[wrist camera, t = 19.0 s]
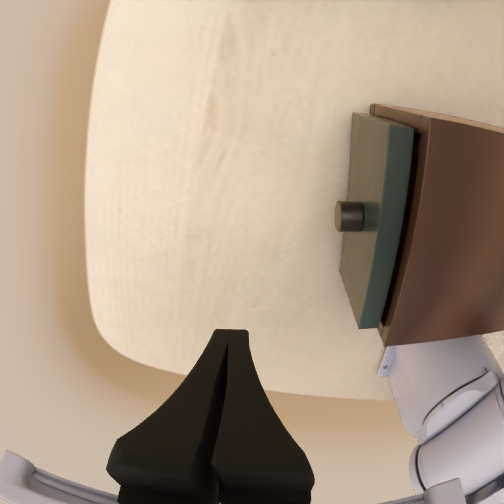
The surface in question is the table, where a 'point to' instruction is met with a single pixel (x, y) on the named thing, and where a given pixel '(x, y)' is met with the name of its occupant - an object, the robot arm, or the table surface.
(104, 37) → the table surface
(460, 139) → the cabinet
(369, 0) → the table surface
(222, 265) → the table surface
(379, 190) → the drawer
